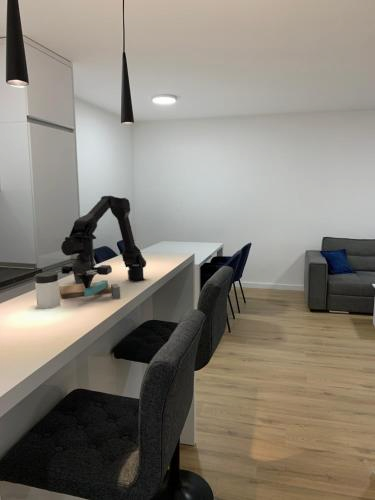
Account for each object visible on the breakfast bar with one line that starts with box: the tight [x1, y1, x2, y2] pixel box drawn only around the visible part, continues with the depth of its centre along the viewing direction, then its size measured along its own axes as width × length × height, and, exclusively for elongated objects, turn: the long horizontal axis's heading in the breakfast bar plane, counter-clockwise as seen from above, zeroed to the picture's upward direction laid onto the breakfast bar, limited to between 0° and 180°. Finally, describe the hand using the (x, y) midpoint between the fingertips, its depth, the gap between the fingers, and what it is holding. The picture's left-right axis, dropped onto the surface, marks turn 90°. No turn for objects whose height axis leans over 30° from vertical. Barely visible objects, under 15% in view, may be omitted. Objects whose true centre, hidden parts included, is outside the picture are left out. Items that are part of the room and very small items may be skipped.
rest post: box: [110, 283, 121, 300], centre depth 159 cm, size 2×6×4 cm, turn 21°
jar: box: [34, 271, 61, 309], centre depth 150 cm, size 9×8×12 cm
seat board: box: [59, 281, 111, 300], centre depth 169 cm, size 20×14×2 cm
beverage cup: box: [70, 254, 83, 285], centre depth 185 cm, size 7×7×20 cm
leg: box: [84, 279, 109, 297], centre depth 161 cm, size 16×3×2 cm, turn 165°
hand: (87, 290), depth 158 cm, fingers closed
